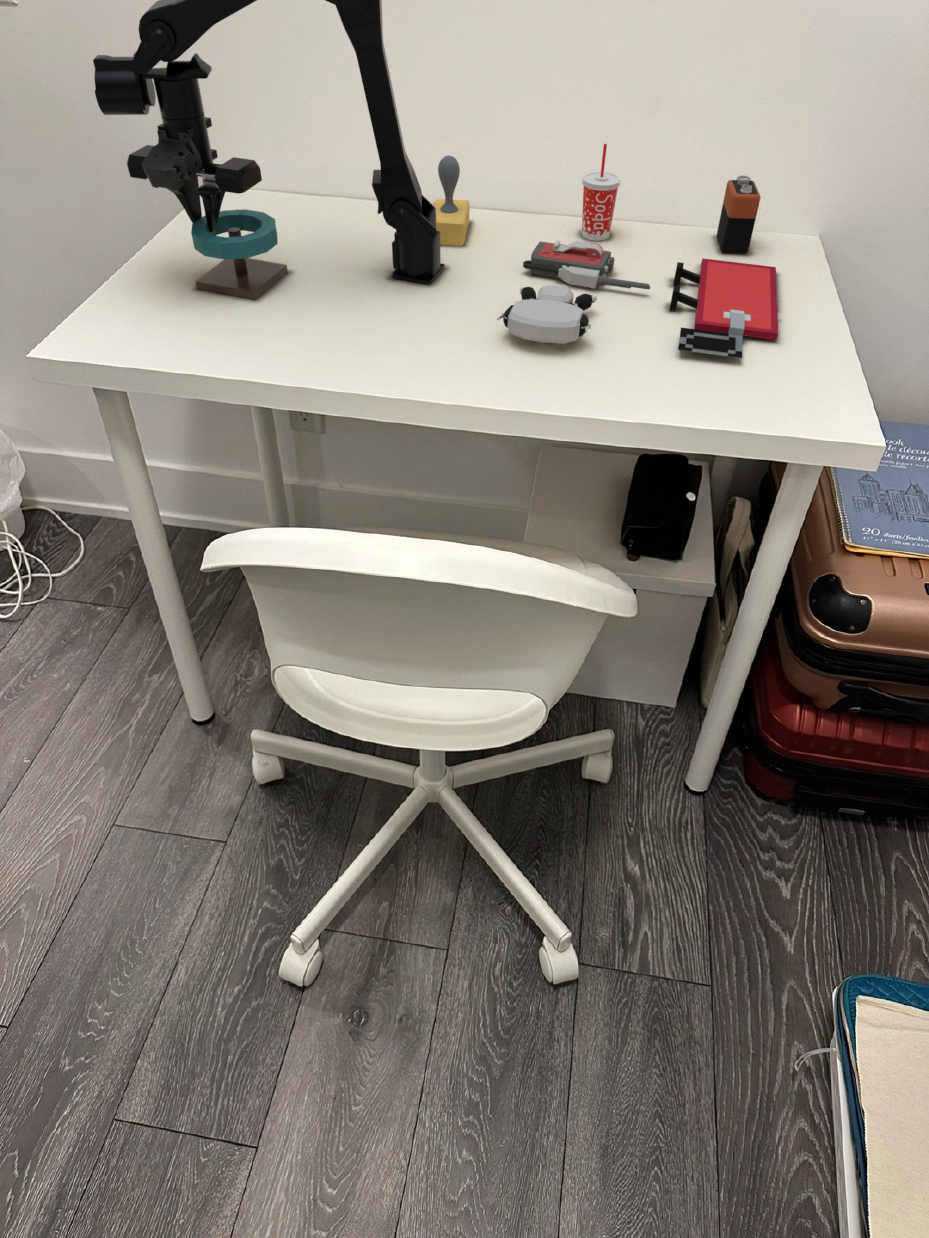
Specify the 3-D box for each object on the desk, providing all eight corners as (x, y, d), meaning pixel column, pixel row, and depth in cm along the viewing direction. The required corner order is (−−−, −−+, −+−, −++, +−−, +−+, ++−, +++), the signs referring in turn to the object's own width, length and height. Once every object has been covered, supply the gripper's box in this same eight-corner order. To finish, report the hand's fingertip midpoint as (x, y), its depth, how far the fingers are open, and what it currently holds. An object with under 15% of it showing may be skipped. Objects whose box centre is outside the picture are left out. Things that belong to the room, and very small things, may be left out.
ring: (291, 232, 134) (289, 216, 133) (251, 264, 126) (248, 247, 125) (222, 221, 137) (219, 205, 136) (178, 251, 129) (175, 235, 128)
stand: (287, 272, 138) (280, 221, 133) (255, 300, 132) (246, 248, 126) (231, 262, 141) (222, 212, 135) (196, 289, 134) (185, 237, 129)
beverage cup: (574, 240, 147) (583, 149, 137) (579, 226, 151) (588, 136, 141) (611, 244, 146) (623, 152, 136) (615, 229, 150) (626, 139, 140)
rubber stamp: (435, 220, 153) (434, 145, 144) (469, 222, 152) (470, 146, 144) (428, 244, 146) (427, 166, 137) (464, 246, 145) (464, 168, 137)
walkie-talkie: (517, 279, 137) (647, 299, 132) (519, 251, 134) (651, 270, 129) (533, 256, 143) (657, 275, 138) (535, 228, 140) (662, 246, 135)
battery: (742, 237, 148) (756, 174, 141) (748, 255, 144) (763, 190, 136) (715, 236, 149) (728, 173, 141) (720, 254, 144) (734, 189, 137)
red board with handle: (662, 354, 120) (776, 369, 118) (666, 334, 118) (782, 350, 116) (676, 264, 141) (773, 276, 139) (679, 246, 139) (778, 258, 137)
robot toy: (516, 306, 132) (494, 347, 121) (518, 275, 129) (495, 314, 118) (598, 316, 130) (583, 359, 119) (602, 285, 127) (587, 326, 116)
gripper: (88, 123, 118) (120, 242, 129) (210, 140, 114) (232, 261, 125) (137, 100, 126) (164, 213, 137) (254, 115, 121) (271, 231, 132)
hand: (205, 230), depth 132 cm, fingers closed on ring, 2 cm apart
